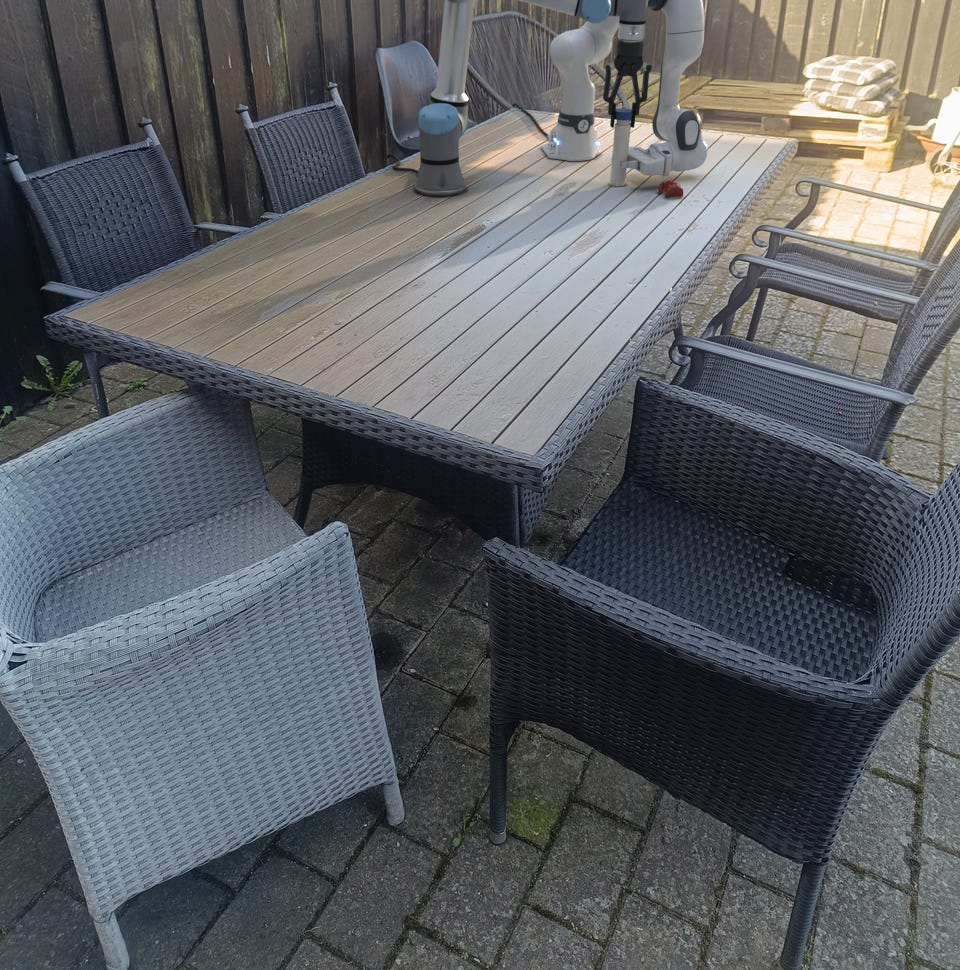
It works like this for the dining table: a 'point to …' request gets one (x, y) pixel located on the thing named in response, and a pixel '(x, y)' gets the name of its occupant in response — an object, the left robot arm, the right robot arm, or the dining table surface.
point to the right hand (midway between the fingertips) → (616, 162)
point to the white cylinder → (620, 152)
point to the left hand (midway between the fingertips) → (622, 126)
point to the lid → (623, 114)
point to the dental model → (670, 189)
